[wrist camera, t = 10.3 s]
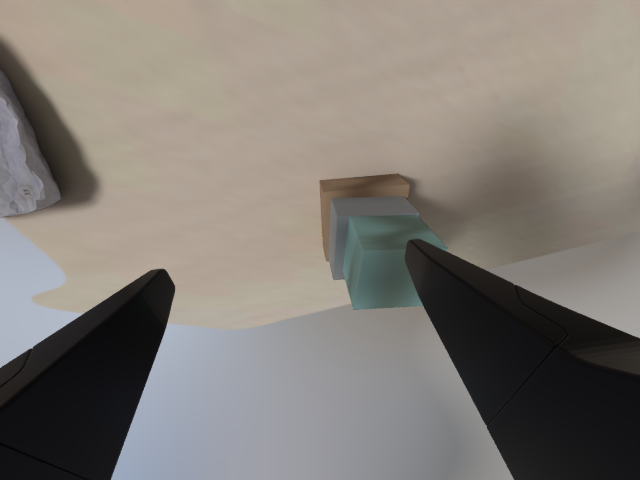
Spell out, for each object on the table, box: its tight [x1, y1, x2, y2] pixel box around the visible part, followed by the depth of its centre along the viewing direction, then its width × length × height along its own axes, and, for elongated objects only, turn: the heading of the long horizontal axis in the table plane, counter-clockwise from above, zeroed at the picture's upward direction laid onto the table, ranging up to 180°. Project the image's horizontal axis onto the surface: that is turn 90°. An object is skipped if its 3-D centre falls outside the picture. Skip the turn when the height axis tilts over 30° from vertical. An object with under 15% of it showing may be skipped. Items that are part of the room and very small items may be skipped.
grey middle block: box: [328, 196, 420, 280], centre depth 20 cm, size 6×6×3 cm
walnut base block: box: [320, 174, 410, 261], centre depth 22 cm, size 7×7×3 cm
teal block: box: [343, 215, 447, 310], centre depth 17 cm, size 5×5×4 cm
